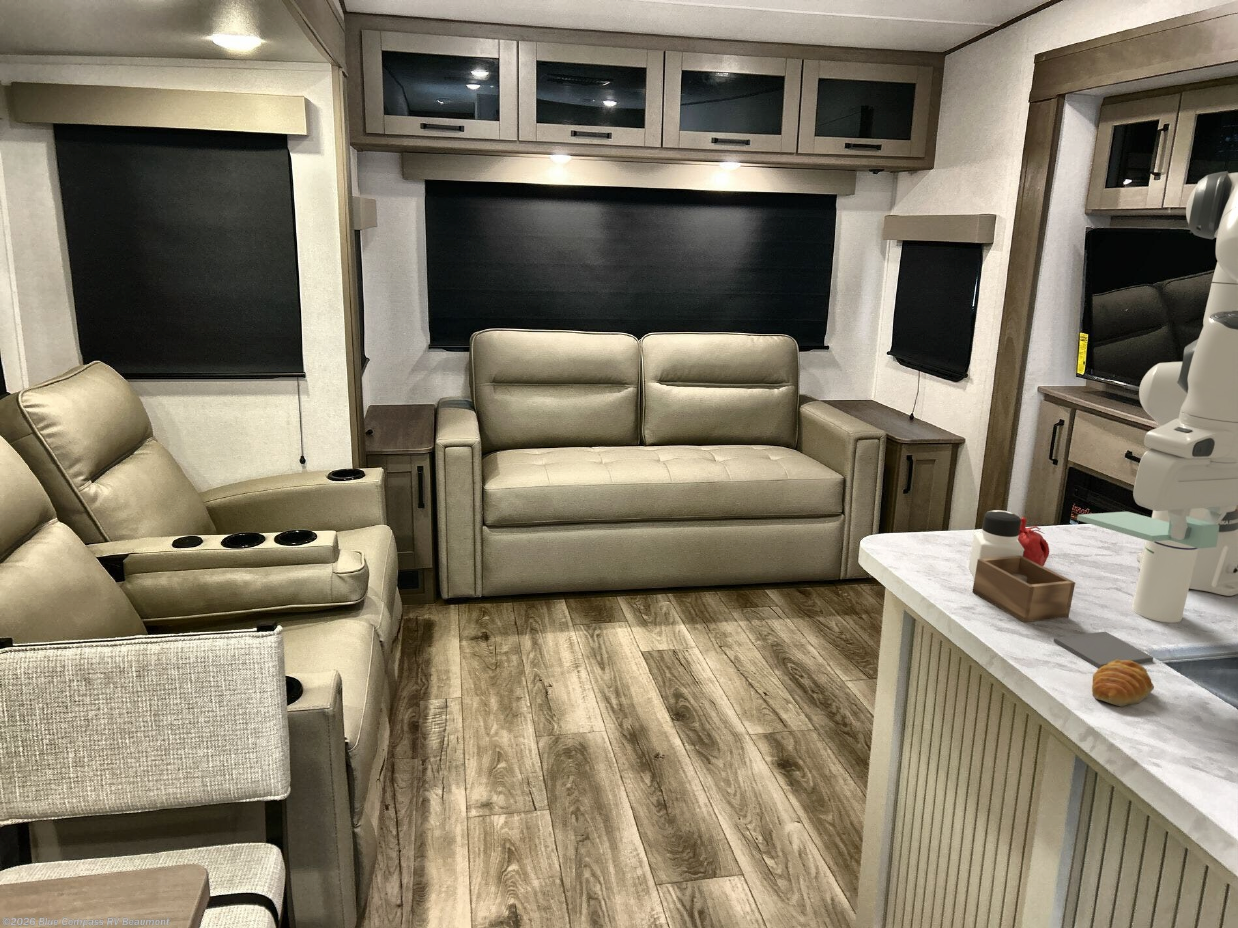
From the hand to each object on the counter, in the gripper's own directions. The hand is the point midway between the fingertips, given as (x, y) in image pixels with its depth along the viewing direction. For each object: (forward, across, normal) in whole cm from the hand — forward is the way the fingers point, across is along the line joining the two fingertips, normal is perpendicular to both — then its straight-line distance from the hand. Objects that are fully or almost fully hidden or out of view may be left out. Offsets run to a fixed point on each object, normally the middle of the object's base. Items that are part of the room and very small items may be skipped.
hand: (1191, 537), depth 120 cm
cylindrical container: (+21, -19, -17) cm, 33 cm away
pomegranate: (+21, -11, -40) cm, 47 cm away
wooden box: (+21, +2, -25) cm, 33 cm away
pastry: (+21, +10, +2) cm, 23 cm away
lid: (+1, 0, -6) cm, 6 cm away
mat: (+21, +2, -8) cm, 22 cm away
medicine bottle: (+21, -2, -36) cm, 42 cm away
